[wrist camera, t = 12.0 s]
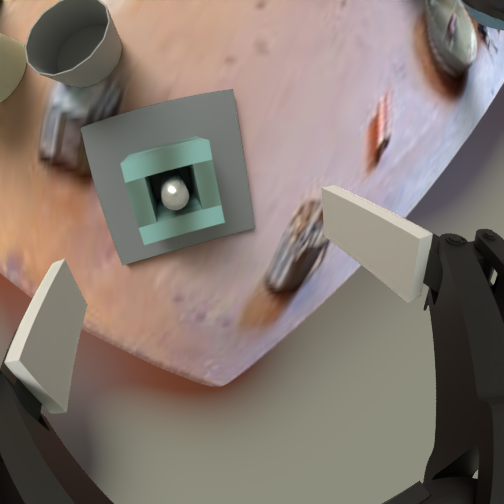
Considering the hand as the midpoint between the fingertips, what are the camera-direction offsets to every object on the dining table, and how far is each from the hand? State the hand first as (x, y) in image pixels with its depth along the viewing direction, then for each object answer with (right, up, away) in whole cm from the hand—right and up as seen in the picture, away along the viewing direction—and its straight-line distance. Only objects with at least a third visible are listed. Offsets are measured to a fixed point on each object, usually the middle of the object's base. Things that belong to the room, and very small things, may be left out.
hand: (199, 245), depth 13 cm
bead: (-7, +8, +18) cm, 21 cm away
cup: (-17, +23, +9) cm, 30 cm away
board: (-7, +9, +19) cm, 23 cm away
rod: (-7, +8, +18) cm, 21 cm away
